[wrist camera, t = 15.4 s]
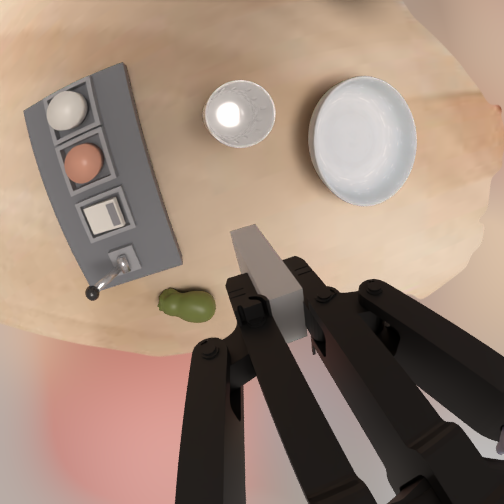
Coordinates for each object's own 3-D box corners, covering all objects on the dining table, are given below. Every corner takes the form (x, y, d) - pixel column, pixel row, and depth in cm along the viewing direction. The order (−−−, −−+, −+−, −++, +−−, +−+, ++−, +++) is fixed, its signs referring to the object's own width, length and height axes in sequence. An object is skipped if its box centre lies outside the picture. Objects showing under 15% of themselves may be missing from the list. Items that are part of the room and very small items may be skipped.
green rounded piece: (213, 330, 46) (156, 323, 44) (214, 311, 51) (161, 305, 49) (217, 304, 44) (155, 297, 42) (217, 286, 48) (161, 279, 47)
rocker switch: (115, 196, 33) (112, 199, 32) (125, 223, 35) (123, 226, 34) (86, 207, 33) (83, 209, 32) (96, 231, 35) (93, 235, 34)
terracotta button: (98, 137, 30) (92, 138, 27) (108, 171, 32) (104, 175, 30) (66, 151, 29) (59, 154, 27) (77, 184, 31) (71, 189, 29)
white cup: (198, 142, 37) (205, 149, 28) (197, 89, 33) (204, 80, 25) (252, 140, 39) (275, 147, 30) (252, 89, 35) (276, 81, 27)
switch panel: (126, 66, 29) (120, 59, 25) (181, 255, 44) (183, 269, 40) (32, 110, 27) (18, 111, 23) (97, 282, 42) (92, 298, 38)
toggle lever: (127, 254, 36) (86, 291, 30) (134, 268, 38) (95, 306, 31) (119, 254, 37) (79, 289, 31) (125, 267, 39) (88, 303, 32)
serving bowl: (391, 188, 49) (414, 199, 43) (297, 201, 45) (315, 215, 40) (391, 84, 39) (417, 85, 33) (288, 75, 35) (308, 70, 29)
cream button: (83, 86, 25) (76, 84, 23) (91, 120, 27) (85, 120, 25) (51, 102, 24) (43, 101, 22) (59, 135, 27) (51, 137, 25)
